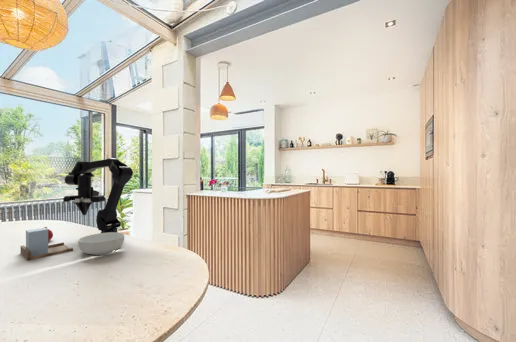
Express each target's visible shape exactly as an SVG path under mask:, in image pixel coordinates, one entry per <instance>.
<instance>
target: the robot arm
mask: <svg viewBox="0 0 516 342" xmlns="http://www.w3.org/2000/svg"><path fill="white" fill-rule="evenodd" d="M104 168H108V169H109V171H110V172H111V173H112V175H111V177H112V182H113V183H112V186H111V190H110V192H109V193H108V198H107V200H106V197H105V196H104V195H100V191H98V190H95V189H94V187H93V186H92V178H93V177H94V178H95V175H94V174H93V173H92V172H95V171H96V170H98V169H104ZM133 175H134V171H133V169H132V167H130V166H128V164H125V162H124V163H123V162H122V161H120V160H119V159H118V158H116V157H115V158H113V157H108V158H105V159H100V160H99V159H98V160H93V161H83V160H82V161H81V160H79V161H76V164H75V165H74V167H73V168H72V169H71V171H69V172H68V174H67V175H66V176H65V177H64V183H65V184H66V185H69V186H77V187H75V190H76V191H77V195H76V194H75V195H73V194H72V195H66V196H64V197H63V199H62V200H63V201H62V202H64V203H68V202H71V201H74V202H73V204H75V205H76V207H78V210H79V211H80V213H81V214H82V216H86V215H87V214H88V211H89V209H90V207H91V205H92V204H93V203H100V202H105V201H106V204H105V207H104V208H103V209H98V211H97V214H96V216H95V218H96V219H95V220H96V221H95V222H96V226H97V229H98V231H101V232H100V233H108V232H118V228H120V227H121V225H122V224H121V221H120V220H119V219H118V213H117V207H118V204H119V201H120V199H121V197H122V194H123V190H124V188H125V185H127V183H128V182H130V181H131V179H132V177H133Z"/></svg>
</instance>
